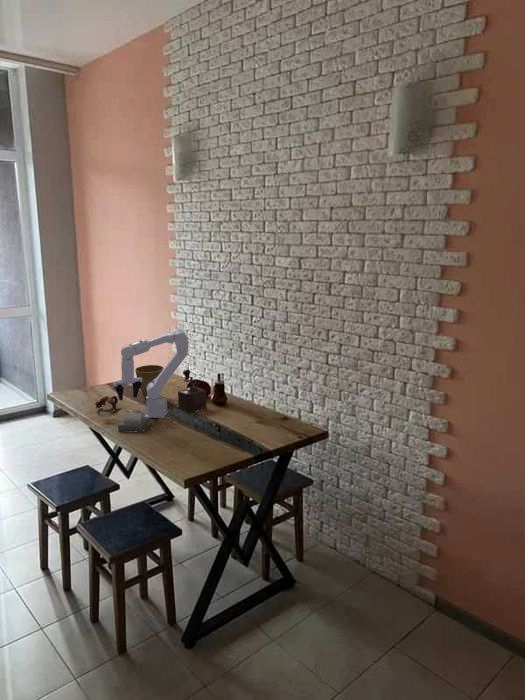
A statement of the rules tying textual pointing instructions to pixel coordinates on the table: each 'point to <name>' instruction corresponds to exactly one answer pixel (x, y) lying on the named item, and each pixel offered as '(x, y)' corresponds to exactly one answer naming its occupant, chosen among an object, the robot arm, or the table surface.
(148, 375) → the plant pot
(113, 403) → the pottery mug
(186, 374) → the manual coffee grinder
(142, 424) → the stand
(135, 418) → the block
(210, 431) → the table surface
